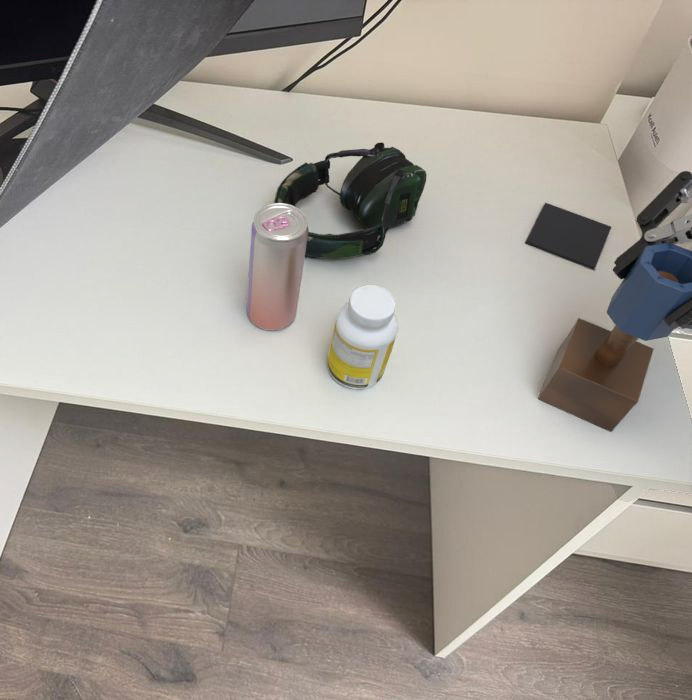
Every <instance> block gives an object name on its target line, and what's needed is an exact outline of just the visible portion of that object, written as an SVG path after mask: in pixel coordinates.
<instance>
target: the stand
mask: <svg viewBox="0 0 692 700" xmlns="http://www.w3.org/2000/svg"><path fill="white" fill-rule="evenodd" d="M657 272H658V273H659V274H660V275H661V276H662V277H664V278H666V279H669V280H672V281H674V282H677V283H679V281H678V280H677V278H676V277H675V276H673V275H672V274H670V273H668V272H664V271H657ZM638 340H639V338H636V337H634V336H632V335H629V334H627V333H624V332H622V331H620V330H619V329H618V327H617V326H616V325H615V324H614V326H613V328H612V329H611V330H609V329H607V328H605V327H603V326H600V325H597V324H595V323H593V322H590V321H587V320H586V319H583V318H580V317H579V318H577V320H576V321H575V323H574V325H573V326H572V327H571V329H570V331H569V332H568V333H567V335H566V337H565V338H564V339H563V341H562V343H561V344H560V346H559V347H558V349H557V351H556V353H555V356H554V358H553V360H552V363H551V366H550V368H549V370H548V373H547V375H546V378H545V380H544V382H543V385H542V388H541V390H540V393H539V396H538V398H537V399H538V400H539V401H542V402H543V403H546V404H548V405H550V406H553V407H555V408H557V409H559V410H561V411H564V412H566V413H568V414H570V415H573V416H574V417H577V418H580V419H581V420H583V421H586V422H588V423H590V424H593V425H595V426H596V427H600V428H601V429H604V430H605V431H608V432H613V431H614V429H615V428H617V426H618V425H619V424H620V423H621V421H622V420H623V419H624V418H625V417H626V416H627V415H628V414H629V412H630V411H631V410H632V409H633V408H634V407H635V406H636V405H637V403H638V402H639V399H640V396H641V392H642V390H643V386H644V383H645V379H646V376H647V373H648V369H649V366H650V363H651V360H652V356H653V353H654V347H651V346H649V345H646V344H644V343H641V342H639V341H638Z"/></svg>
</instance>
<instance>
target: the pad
mask: <svg viewBox="0 0 692 700" xmlns="http://www.w3.org/2000/svg"><path fill="white" fill-rule="evenodd" d="M611 229H612V226H611V225H608V224H605V223H602V222H600V221H597V220H594V219H592V218H590V217H589V218H588V217H586V216H583V215H582V214H578V213H575V212H573V211H570V210H567V209H564V208H561V207H559V206H556V205H553V204H550V203H548V202H544V205H542V208H541V211H540V212H539V214H538V216H537V218H536V220H535V222H534V224H533V226H532V229H531V230H530V233H529V234H528V236H527V238H526V240H525V242H524V243H525V244H526V245H529V246H531V247H534V248H536V249H539V250H541V251H545V252H547V253H549V254H552V255H555V256H557V257H560V258H562V259H565V260H568V261H570V262H573V263H575V264H577V265H580V266H583V267H586V268H588V269H591V270H595V269H596V267H597V264H598V262H599V259H600V257H601V254H602V253H603V249H604V247H605V245H606V242H607V239H608V236H609V234H610V232H611Z"/></svg>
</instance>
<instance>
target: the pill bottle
mask: <svg viewBox="0 0 692 700" xmlns="http://www.w3.org/2000/svg"><path fill="white" fill-rule="evenodd" d="M396 305H397V302H396V299H395V297H394V295H393V294H392V293H391V292H390V291H389V290H387V288H384V287H382V286H380V285H374V284H366V285H362V286H358V287H357V288H355V289H354V290H353V291H352V292H351V294H350V296H349V300H348V302H347V303H345V304H344V305H343V306H342V307H341V308H340V309H339V310H338V312H337V314H336V318H335V322H334V327H333V331H332V337H331V342H330V346H329V351H328V356H327V363H326V364H327V370H328V372H329V374H330V375H331V377H332V378H333V379H334V381H335V382H337V383H338V384H339V385H342V386H343V387H346V388H349V389H354V390H364V389H368V388H371V387H373V386H374V385H377V383H379V382H380V381H381V379H382V378H383V375H384V374H385V371H386V368H387V365H388V362H389V359H390V356H391V354H392V351H393V348H394V344H395V341H396V338H397V335H398V332H399V322H398V317H397V315H396V314H395V312H396V308H397V306H396Z"/></svg>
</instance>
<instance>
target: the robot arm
mask: <svg viewBox="0 0 692 700" xmlns="http://www.w3.org/2000/svg"><path fill="white" fill-rule="evenodd" d="M690 202H692V172H690V171H688V170H684V171H683V170H682V171H681V172H679V173H678V174H677V175H676V176H675V177H674V178H673V179H672V180H671V181H670V182H669V183H668V185H666V186H665V187H664V189H662V190H661V191H660V192H659V193H658V194H657V195H656V196H655V197H654V198H653V199H652V201H650V203H649V204H647V206H646V207H645V208H643V209H642V211H640V213H638V215H637V216H636V222H637V224H638V226H639V229H640V231H641V237H640V238H639V239H638V240H637V241H636V242H635V243H634V244H632V245H631V246H630V247H628V248H627V249H626V250H625V251H624V252H622V253H621V254H620V255H618V256H617V257H616V259H615V261H614V262H613V263H614V264H615V266H614V267H612V272H613V273H614V275H616V276H617V278H618V279H620V280H624V278H625V277H626V275H627V274H628V272H629V271H630V269H631V268H632V266H633V265H634V263H635V262H636V260H637V259H638V257H639V256H640V254H641V253H642V251H643V250H644V248H645V247H646V246H652V245H657V244H663V243H671V244H674V245H683V244H688V243H691V242H692V213H691V214H687V215H684V216H681V217H678V218H675V219H673V220H672V221H671V222H669V223H666V224H663V225H661V224H662V223H663V222H664V221H665V220H666V219H667V218H668V217H669V216H670V215H671V214H672V213H673V212H674V211H675V210H676V209H677V208H678V207H679V206H680V205H681V204H689V203H690ZM664 321H665V322H666V323H667V325H668V326H670V327H671V328H672V329H674V330H676V329H678V328H679V327H680V328H681V329H682V330H684V329H689V328H690V327H691V326H692V299H690V300H689V301H688V302H686V303H685V304H684V305H682V306H681V307H680V308H678V309H677V310H676V311H674V312H673V313H672V314H670V315H669V316H668V317H666V319H665V320H664Z"/></svg>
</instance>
